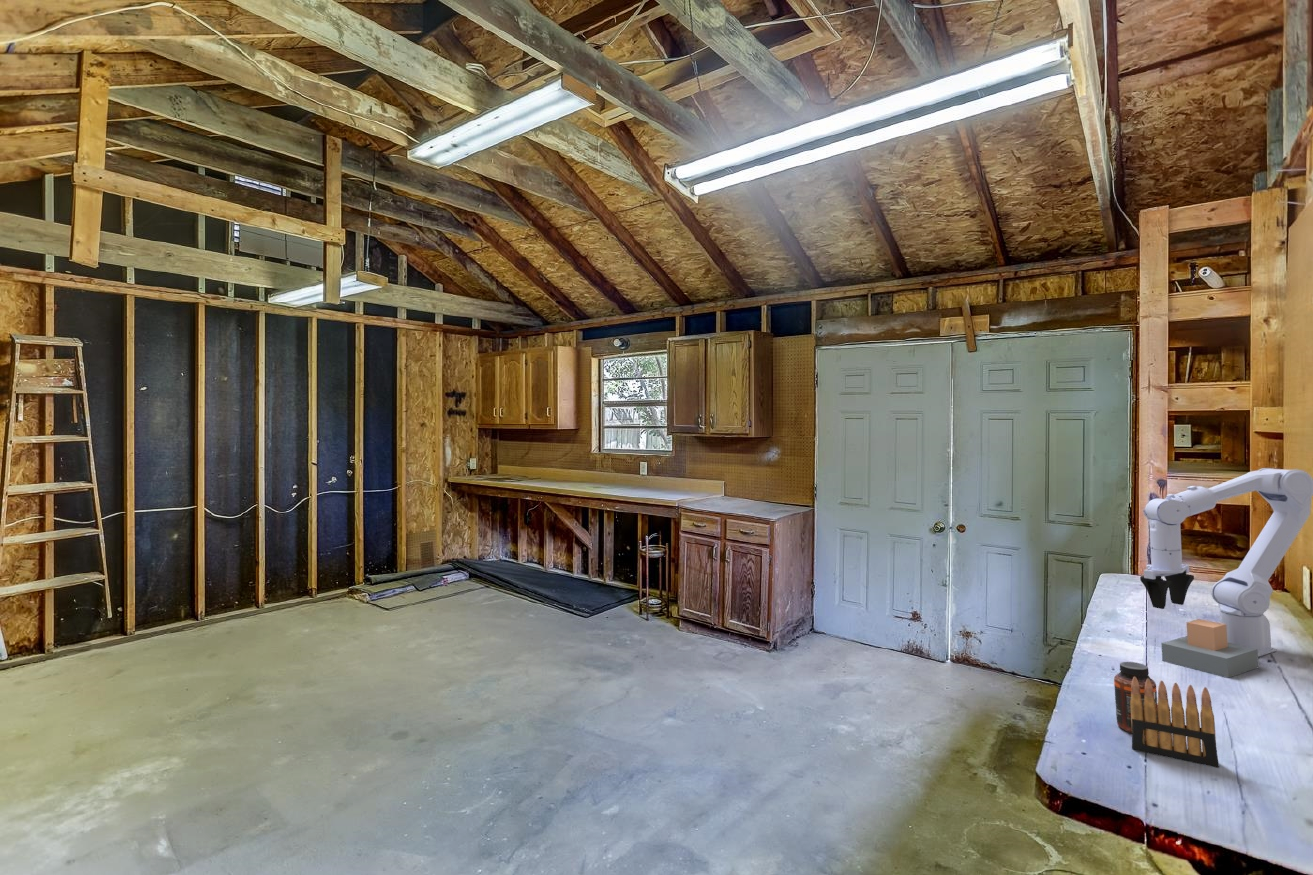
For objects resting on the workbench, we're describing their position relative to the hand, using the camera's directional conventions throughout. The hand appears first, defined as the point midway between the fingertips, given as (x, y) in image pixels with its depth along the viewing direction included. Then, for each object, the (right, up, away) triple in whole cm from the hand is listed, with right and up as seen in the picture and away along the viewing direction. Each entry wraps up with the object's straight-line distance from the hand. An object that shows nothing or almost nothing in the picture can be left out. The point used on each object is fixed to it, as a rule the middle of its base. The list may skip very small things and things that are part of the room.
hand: (1168, 605), depth 147 cm
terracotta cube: (0, -6, -10) cm, 12 cm away
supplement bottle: (-37, -12, -38) cm, 55 cm away
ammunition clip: (-39, -12, -47) cm, 62 cm away
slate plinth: (+1, -10, -10) cm, 14 cm away
